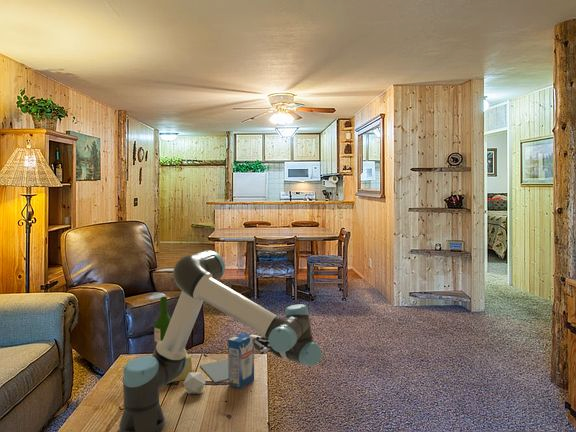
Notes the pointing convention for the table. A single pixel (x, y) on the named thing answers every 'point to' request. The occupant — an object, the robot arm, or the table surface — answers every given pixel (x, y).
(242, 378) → the milk carton
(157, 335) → the wine bottle
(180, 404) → the table surface
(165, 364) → the robot arm
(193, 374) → the die
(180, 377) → the cheese
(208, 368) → the slate mat
